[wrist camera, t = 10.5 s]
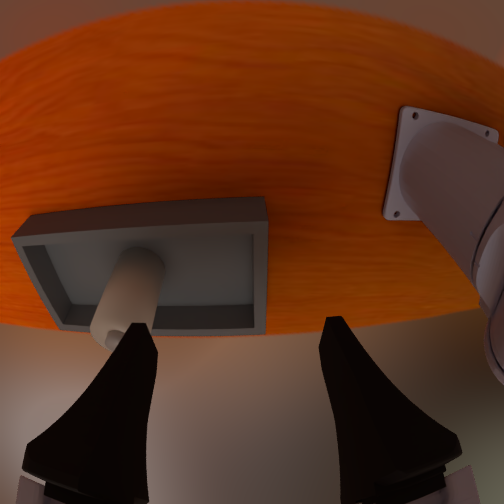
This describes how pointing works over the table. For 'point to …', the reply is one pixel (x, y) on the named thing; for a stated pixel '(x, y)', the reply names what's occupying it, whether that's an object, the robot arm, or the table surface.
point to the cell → (128, 296)
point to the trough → (170, 252)
